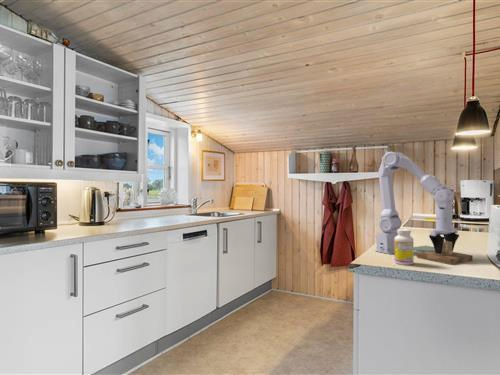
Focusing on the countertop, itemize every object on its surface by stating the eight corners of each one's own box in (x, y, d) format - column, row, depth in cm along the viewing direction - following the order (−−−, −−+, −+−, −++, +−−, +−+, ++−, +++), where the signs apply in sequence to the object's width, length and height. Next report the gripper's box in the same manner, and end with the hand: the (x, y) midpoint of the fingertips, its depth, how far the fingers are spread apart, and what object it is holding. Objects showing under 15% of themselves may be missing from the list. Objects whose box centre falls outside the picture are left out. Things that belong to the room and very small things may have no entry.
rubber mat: (432, 253, 151) (432, 252, 151) (408, 249, 162) (408, 247, 162) (449, 250, 157) (449, 249, 157) (425, 246, 167) (425, 245, 167)
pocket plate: (450, 264, 131) (450, 259, 131) (417, 257, 143) (417, 252, 143) (472, 260, 137) (472, 255, 137) (438, 254, 150) (438, 249, 150)
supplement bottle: (397, 260, 138) (397, 228, 138) (415, 263, 134) (415, 229, 134) (392, 263, 133) (392, 230, 133) (410, 266, 129) (410, 231, 129)
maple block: (445, 260, 138) (445, 242, 138) (436, 258, 141) (436, 241, 141) (452, 259, 140) (452, 241, 139) (442, 257, 143) (442, 240, 143)
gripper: (442, 220, 133) (442, 256, 133) (465, 218, 140) (465, 252, 140) (425, 218, 139) (425, 253, 140) (447, 216, 146) (447, 249, 146)
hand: (444, 252), depth 140 cm, fingers open, 7 cm apart
